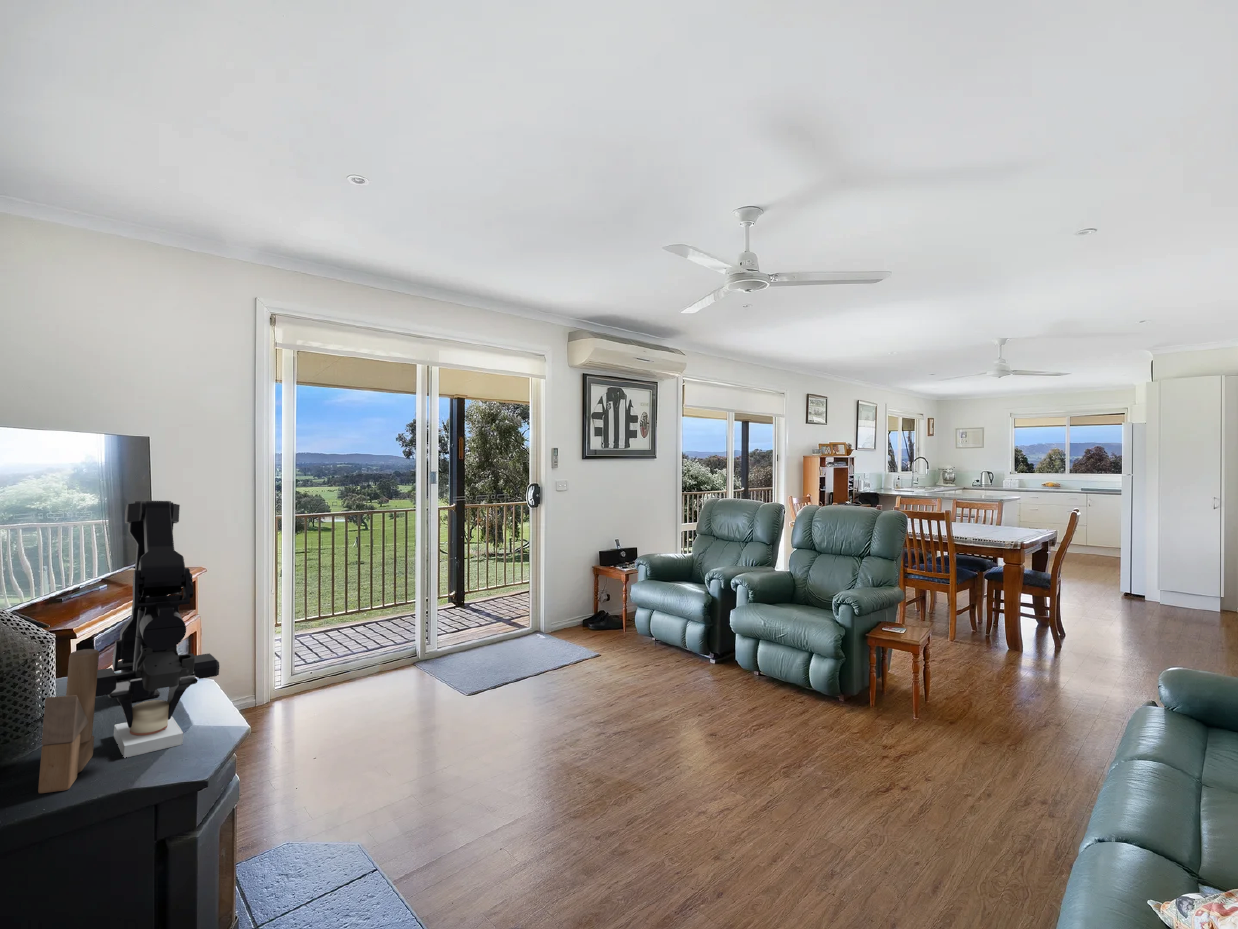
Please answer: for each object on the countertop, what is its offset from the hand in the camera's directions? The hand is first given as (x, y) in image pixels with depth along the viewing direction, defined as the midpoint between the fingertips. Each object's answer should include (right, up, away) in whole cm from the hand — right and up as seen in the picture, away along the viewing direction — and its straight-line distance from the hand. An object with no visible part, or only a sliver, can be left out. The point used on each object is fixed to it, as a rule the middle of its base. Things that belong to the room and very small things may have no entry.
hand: (149, 722), depth 105 cm
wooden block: (-3, -3, -12) cm, 13 cm away
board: (0, -3, 0) cm, 3 cm away
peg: (0, -3, 0) cm, 3 cm away
